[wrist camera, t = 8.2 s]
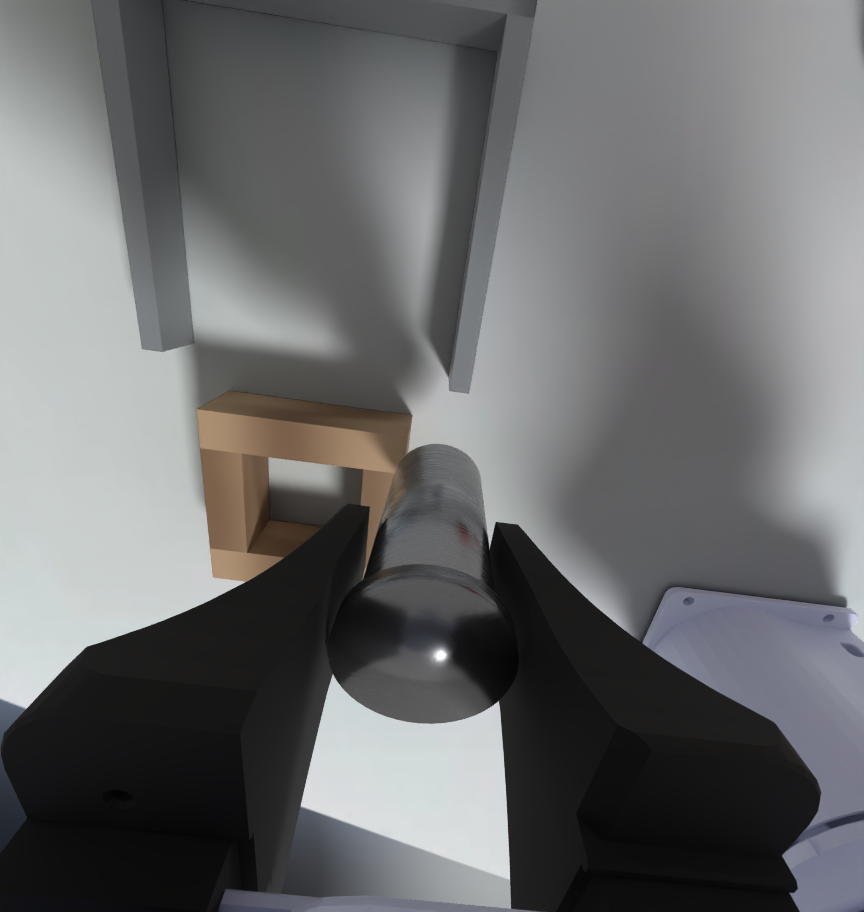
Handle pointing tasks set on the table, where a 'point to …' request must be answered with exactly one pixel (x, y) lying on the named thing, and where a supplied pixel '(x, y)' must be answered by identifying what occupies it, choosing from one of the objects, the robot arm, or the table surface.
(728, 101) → the table surface
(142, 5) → the grey u-shaped bracket
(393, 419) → the wooden square frame
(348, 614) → the silver cylindrical piece
